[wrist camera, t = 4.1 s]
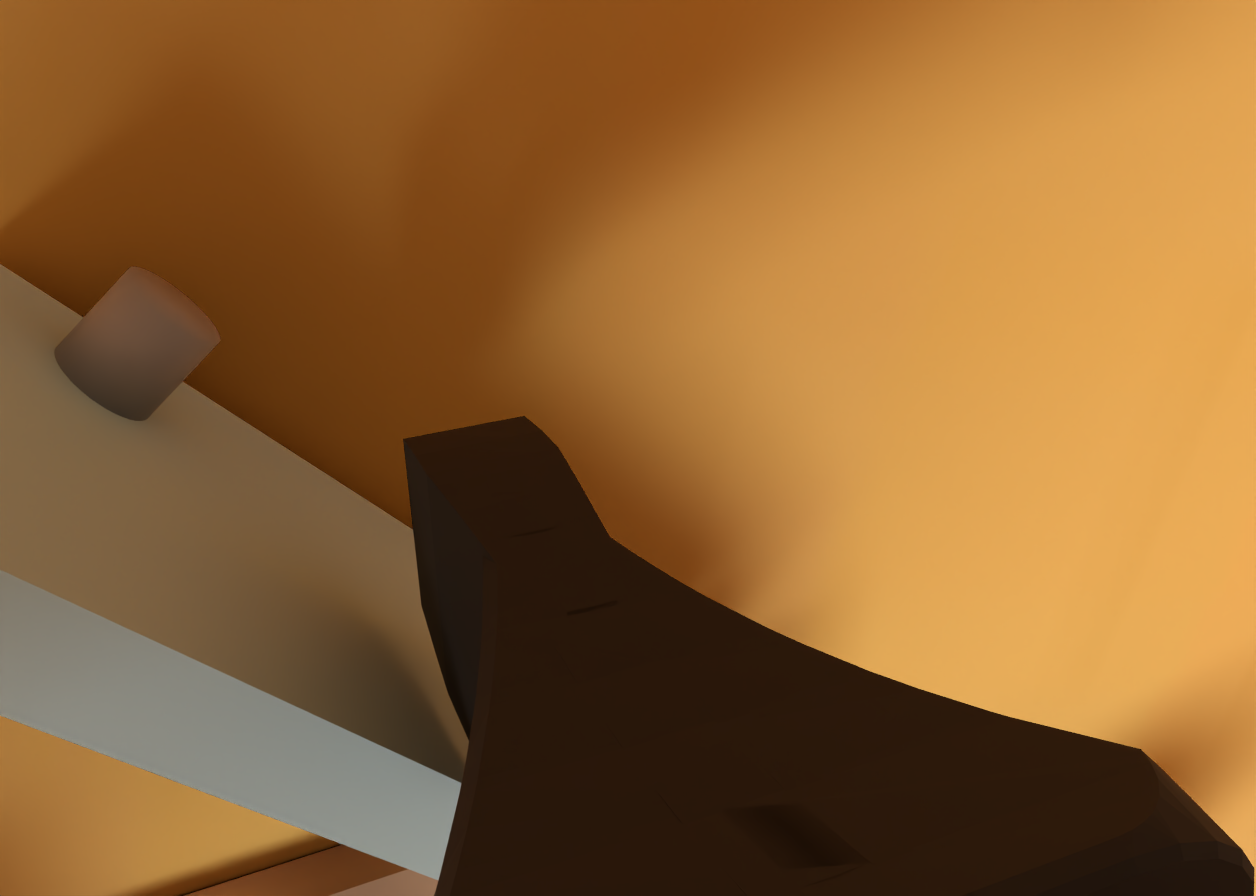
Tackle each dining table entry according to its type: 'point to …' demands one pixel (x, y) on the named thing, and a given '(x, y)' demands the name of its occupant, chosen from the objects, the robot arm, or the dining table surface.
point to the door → (208, 586)
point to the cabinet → (329, 878)
